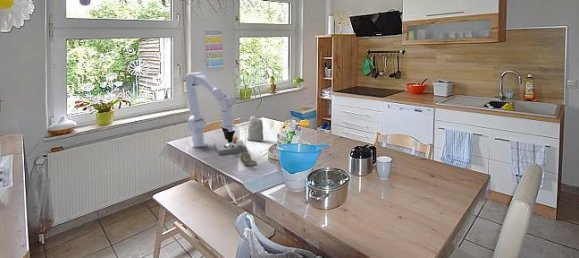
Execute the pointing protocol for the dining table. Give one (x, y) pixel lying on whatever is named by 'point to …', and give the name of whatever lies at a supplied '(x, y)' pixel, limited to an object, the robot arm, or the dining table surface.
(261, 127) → the decorative stone
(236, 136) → the terracotta ball
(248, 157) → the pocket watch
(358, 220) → the dining table surface
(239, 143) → the cream ball
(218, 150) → the hole plate
